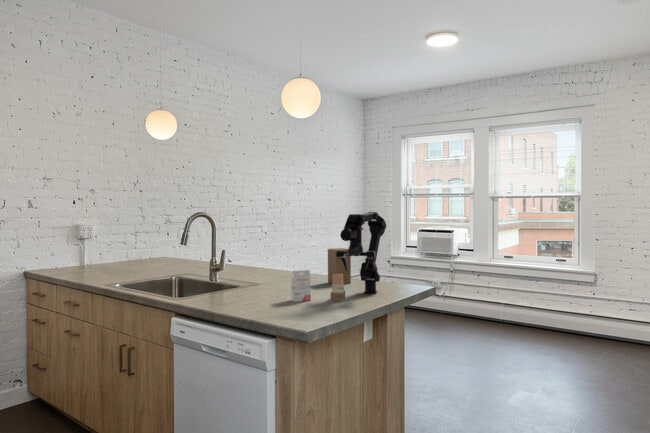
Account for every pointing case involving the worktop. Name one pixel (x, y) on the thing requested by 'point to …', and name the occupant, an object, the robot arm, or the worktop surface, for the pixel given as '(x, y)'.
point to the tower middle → (337, 288)
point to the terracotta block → (337, 279)
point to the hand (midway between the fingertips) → (355, 271)
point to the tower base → (338, 296)
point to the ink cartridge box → (300, 286)
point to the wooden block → (338, 266)
